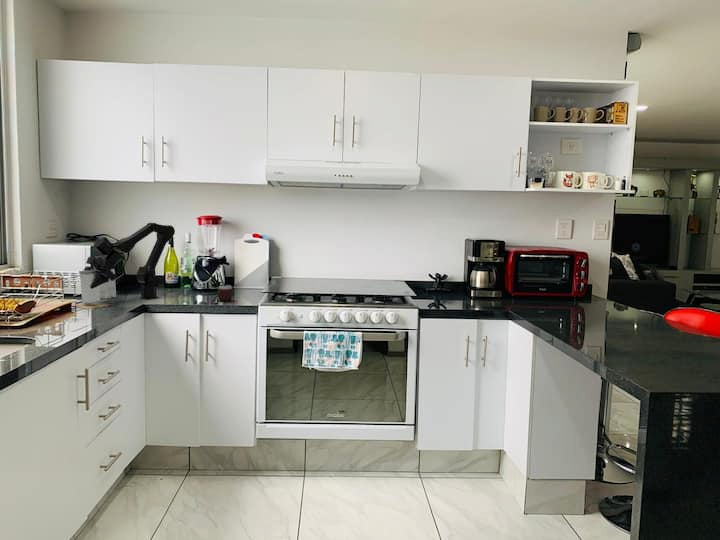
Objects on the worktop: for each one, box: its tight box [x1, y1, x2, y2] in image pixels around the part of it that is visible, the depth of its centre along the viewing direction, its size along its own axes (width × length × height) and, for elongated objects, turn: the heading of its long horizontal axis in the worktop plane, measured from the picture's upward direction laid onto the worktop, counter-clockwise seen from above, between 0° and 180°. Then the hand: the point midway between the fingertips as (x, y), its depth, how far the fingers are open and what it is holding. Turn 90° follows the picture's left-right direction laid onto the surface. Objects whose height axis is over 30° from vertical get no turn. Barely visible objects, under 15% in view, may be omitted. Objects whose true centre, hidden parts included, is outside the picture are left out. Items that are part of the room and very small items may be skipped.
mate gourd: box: [214, 270, 234, 303], centre depth 267 cm, size 8×8×15 cm
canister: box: [79, 270, 101, 303], centre depth 249 cm, size 6×6×14 cm
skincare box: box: [93, 267, 117, 299], centre depth 272 cm, size 8×7×16 cm
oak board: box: [74, 301, 111, 310], centre depth 250 cm, size 12×12×1 cm
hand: (87, 287), depth 248 cm, fingers closed on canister, 5 cm apart
